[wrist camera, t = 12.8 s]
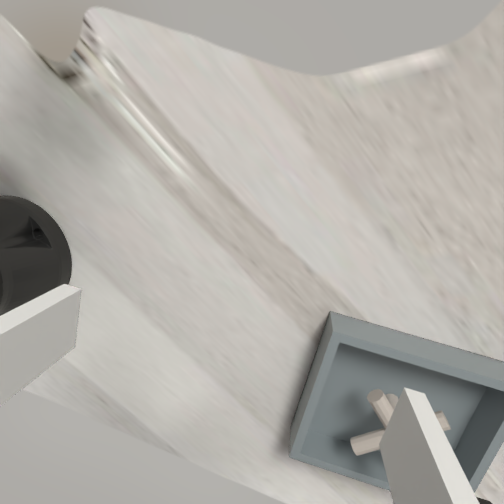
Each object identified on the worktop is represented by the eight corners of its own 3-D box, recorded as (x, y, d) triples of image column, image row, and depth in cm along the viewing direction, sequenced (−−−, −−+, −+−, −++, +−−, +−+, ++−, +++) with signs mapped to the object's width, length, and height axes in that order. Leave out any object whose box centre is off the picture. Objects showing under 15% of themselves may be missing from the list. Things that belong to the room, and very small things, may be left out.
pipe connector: (452, 420, 40) (487, 503, 31) (371, 443, 44) (381, 525, 34) (412, 351, 39) (436, 416, 30) (331, 380, 42) (331, 447, 33)
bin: (291, 426, 45) (289, 457, 41) (330, 311, 41) (333, 331, 36) (445, 476, 44) (462, 514, 39) (505, 362, 39) (532, 390, 34)
